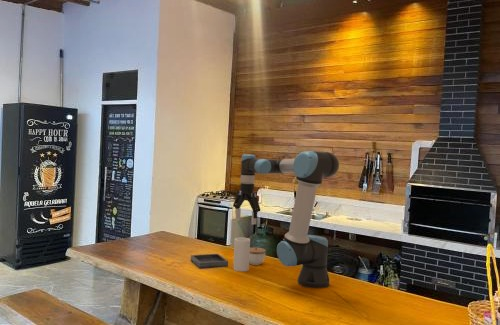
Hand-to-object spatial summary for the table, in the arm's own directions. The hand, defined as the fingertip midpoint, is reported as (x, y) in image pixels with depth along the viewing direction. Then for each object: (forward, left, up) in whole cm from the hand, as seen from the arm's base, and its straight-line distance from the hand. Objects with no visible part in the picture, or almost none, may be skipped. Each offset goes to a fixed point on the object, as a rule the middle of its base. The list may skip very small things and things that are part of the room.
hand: (245, 222), depth 231 cm
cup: (-6, +4, -24) cm, 25 cm away
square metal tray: (+8, +17, -24) cm, 30 cm away
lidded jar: (+2, -8, -24) cm, 25 cm away
